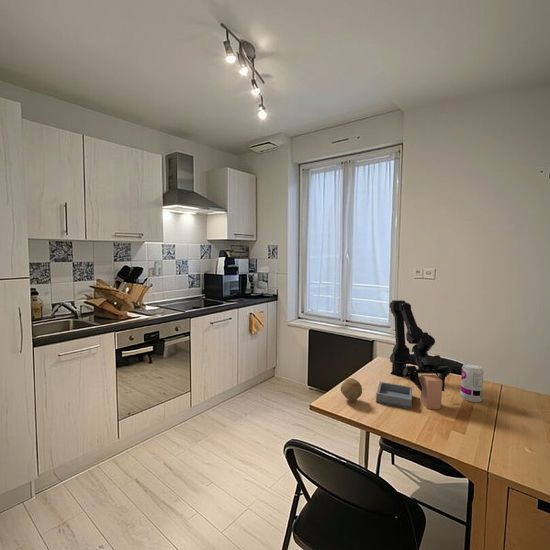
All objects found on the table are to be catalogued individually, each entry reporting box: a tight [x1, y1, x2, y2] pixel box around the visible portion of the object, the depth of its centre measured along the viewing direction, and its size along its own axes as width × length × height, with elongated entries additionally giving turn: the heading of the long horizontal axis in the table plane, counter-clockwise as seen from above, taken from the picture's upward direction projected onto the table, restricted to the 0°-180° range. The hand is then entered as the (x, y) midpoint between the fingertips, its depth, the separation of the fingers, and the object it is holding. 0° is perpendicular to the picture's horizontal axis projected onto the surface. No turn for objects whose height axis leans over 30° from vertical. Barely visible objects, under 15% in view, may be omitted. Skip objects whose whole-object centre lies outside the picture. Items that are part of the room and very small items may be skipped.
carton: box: [419, 374, 443, 410], centre depth 136 cm, size 6×6×12 cm
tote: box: [375, 381, 413, 410], centre depth 141 cm, size 14×14×4 cm
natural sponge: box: [340, 377, 363, 403], centre depth 138 cm, size 9×9×10 cm
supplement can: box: [459, 362, 485, 403], centre depth 142 cm, size 8×8×15 cm
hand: (432, 390), depth 134 cm, fingers open, 9 cm apart
